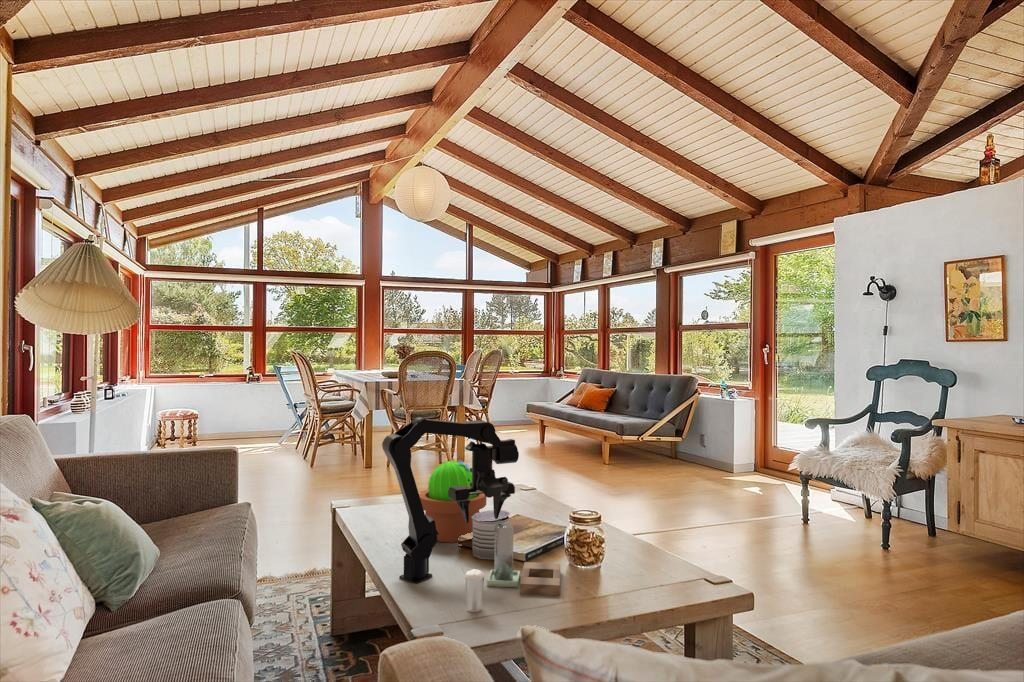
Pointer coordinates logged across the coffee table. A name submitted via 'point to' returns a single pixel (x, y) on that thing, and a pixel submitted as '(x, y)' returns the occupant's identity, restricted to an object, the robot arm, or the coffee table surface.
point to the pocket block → (540, 578)
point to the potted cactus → (450, 501)
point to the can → (486, 532)
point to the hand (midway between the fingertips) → (481, 520)
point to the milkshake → (474, 589)
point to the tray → (502, 582)
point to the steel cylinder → (503, 552)
